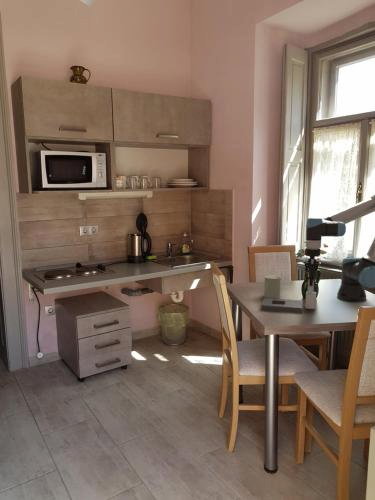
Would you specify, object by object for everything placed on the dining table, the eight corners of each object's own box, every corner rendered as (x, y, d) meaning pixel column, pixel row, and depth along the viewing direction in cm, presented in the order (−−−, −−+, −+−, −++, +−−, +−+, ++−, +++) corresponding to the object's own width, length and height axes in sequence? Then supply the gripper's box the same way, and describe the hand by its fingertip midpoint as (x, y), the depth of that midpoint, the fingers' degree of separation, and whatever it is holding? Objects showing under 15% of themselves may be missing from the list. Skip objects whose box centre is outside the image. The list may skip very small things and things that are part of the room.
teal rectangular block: (315, 306, 208) (316, 291, 206) (315, 309, 204) (316, 293, 203) (305, 306, 209) (306, 291, 208) (305, 308, 205) (306, 293, 204)
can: (280, 299, 222) (281, 278, 220) (263, 298, 224) (264, 277, 222) (280, 294, 231) (280, 274, 229) (264, 294, 233) (264, 274, 231)
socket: (302, 305, 210) (302, 300, 210) (302, 313, 197) (302, 308, 197) (264, 302, 216) (264, 297, 216) (261, 309, 203) (261, 305, 203)
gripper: (305, 244, 214) (303, 282, 218) (304, 251, 191) (302, 294, 194) (320, 245, 212) (317, 283, 216) (321, 252, 189) (318, 295, 192)
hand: (310, 288), depth 205 cm, fingers open, 13 cm apart
